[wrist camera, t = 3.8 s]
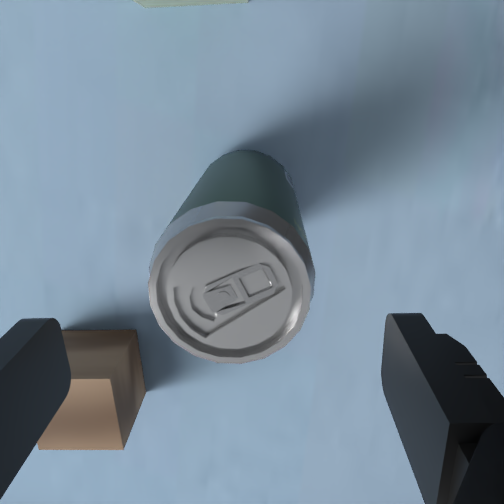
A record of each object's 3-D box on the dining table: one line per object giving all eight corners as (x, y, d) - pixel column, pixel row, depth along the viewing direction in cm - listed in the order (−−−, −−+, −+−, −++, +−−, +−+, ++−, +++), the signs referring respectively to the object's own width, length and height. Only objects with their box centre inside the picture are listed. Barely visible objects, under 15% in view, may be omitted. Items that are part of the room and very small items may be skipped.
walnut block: (60, 329, 28) (19, 379, 23) (136, 328, 28) (109, 378, 23) (74, 392, 30) (39, 449, 25) (146, 391, 29) (123, 449, 25)
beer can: (269, 130, 23) (272, 177, 12) (309, 218, 24) (346, 333, 13) (181, 174, 24) (105, 257, 13) (226, 255, 25) (194, 391, 14)
